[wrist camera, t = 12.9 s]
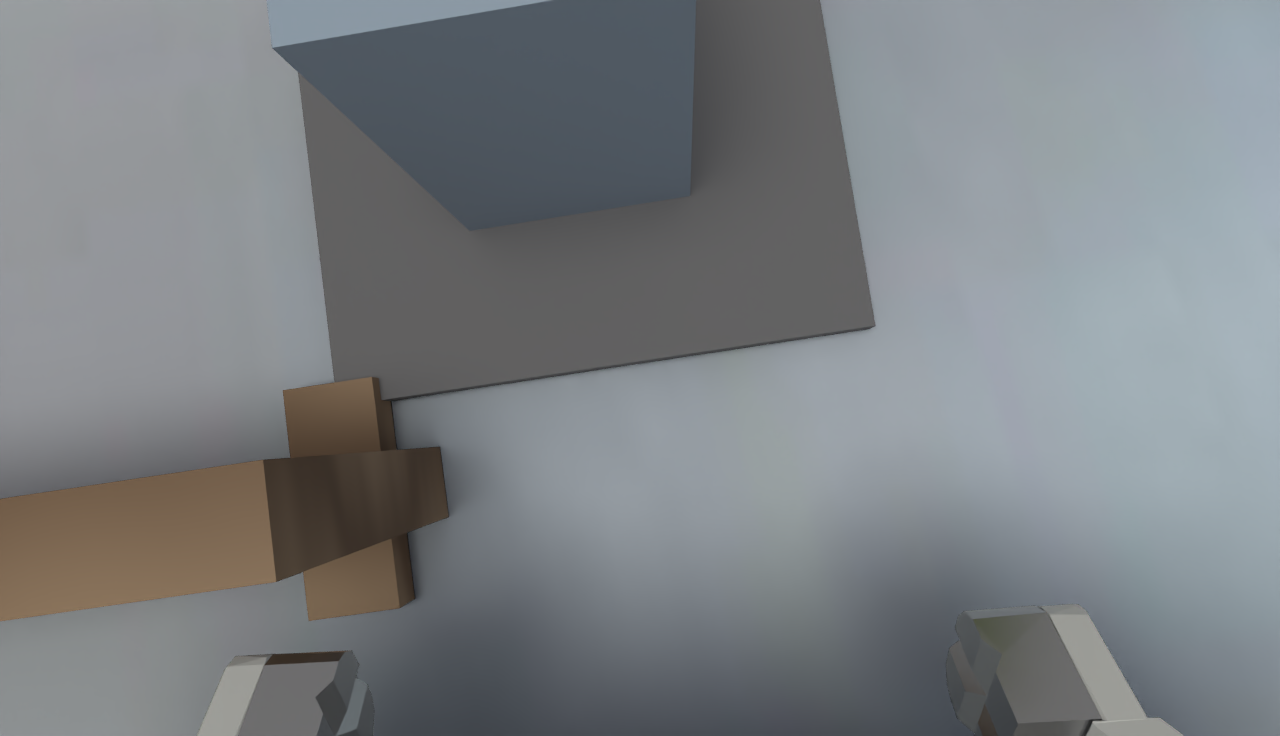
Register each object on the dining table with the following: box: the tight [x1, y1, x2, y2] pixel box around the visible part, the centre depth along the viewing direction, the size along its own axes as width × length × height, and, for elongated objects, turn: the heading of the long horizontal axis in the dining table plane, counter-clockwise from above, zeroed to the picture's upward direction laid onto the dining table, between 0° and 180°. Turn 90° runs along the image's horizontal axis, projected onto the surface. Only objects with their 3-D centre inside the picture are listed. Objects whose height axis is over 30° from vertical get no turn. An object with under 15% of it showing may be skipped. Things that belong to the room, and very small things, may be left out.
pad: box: [298, 0, 875, 401], centre depth 19 cm, size 12×12×1 cm
